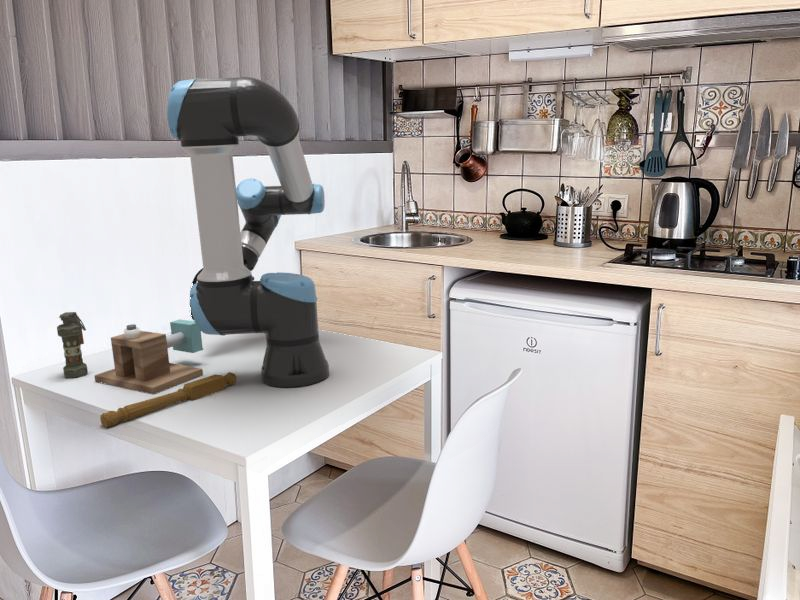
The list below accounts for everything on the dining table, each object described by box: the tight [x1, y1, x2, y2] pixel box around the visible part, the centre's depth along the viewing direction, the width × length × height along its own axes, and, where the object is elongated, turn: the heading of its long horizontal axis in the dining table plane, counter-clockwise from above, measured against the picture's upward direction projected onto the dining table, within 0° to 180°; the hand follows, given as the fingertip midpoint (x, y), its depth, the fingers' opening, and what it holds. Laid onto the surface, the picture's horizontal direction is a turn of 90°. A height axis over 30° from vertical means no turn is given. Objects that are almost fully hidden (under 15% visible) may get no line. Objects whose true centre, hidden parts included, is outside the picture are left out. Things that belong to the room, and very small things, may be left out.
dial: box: [123, 323, 141, 340], centre depth 150 cm, size 3×3×3 cm
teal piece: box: [166, 319, 204, 354], centre depth 160 cm, size 7×12×7 cm, turn 149°
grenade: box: [56, 311, 88, 379], centre depth 159 cm, size 6×6×15 cm
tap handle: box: [99, 372, 238, 429], centre depth 138 cm, size 3×3×30 cm
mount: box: [94, 330, 204, 395], centre depth 154 cm, size 20×14×10 cm
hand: (205, 327), depth 169 cm, fingers closed
